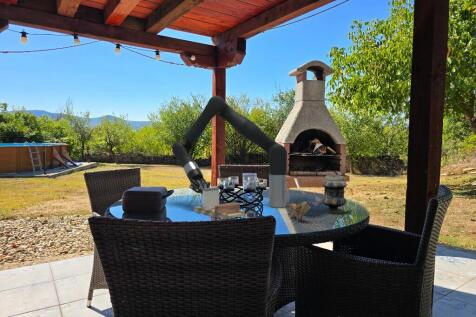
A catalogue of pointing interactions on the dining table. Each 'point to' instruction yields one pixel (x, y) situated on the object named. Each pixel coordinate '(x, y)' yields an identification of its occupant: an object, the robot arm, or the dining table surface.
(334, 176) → the apothecary jar
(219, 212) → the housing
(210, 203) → the pale grey rectangular block
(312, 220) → the dining table surface
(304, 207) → the lion figurine
